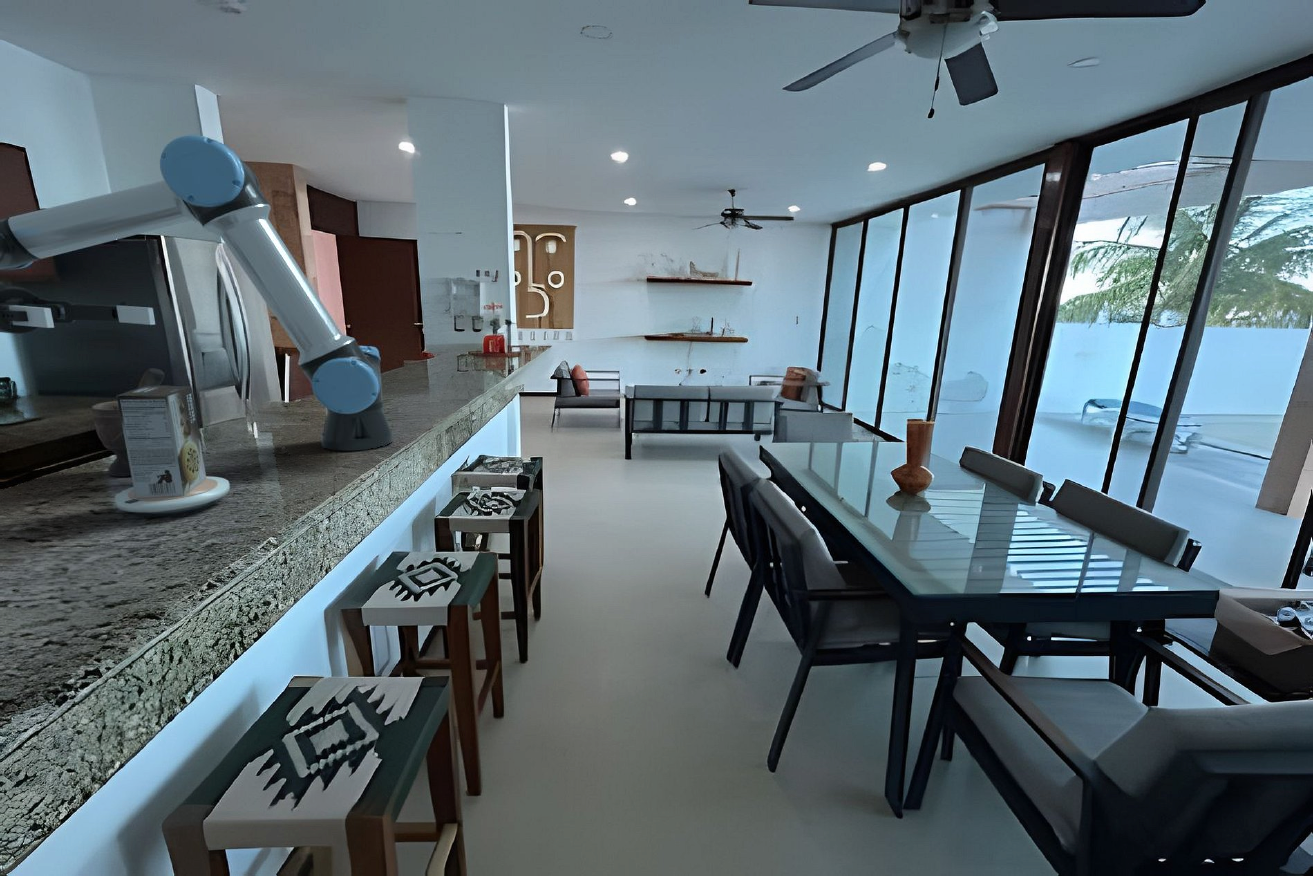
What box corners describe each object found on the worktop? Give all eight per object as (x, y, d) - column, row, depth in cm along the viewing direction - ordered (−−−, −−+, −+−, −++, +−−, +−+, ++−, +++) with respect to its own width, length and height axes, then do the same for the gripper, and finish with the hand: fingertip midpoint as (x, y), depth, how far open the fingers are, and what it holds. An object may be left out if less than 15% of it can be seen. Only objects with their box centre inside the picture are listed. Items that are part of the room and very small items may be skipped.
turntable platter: (185, 479, 98) (184, 471, 98) (250, 488, 95) (249, 480, 95) (91, 505, 85) (89, 497, 84) (164, 517, 82) (162, 508, 82)
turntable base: (184, 493, 96) (183, 485, 96) (231, 500, 94) (230, 491, 94) (118, 513, 87) (116, 504, 86) (169, 521, 85) (168, 512, 84)
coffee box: (160, 481, 92) (144, 385, 89) (207, 478, 95) (193, 384, 91) (132, 499, 84) (113, 394, 80) (185, 496, 86) (168, 393, 83)
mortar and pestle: (191, 462, 113) (176, 364, 108) (176, 475, 105) (158, 369, 100) (117, 467, 108) (97, 364, 103) (95, 480, 100) (73, 370, 96)
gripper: (94, 329, 102) (189, 337, 98) (-112, 336, 78) (2, 347, 74) (87, 287, 100) (183, 293, 96) (-127, 281, 77) (-12, 289, 73)
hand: (104, 317), depth 85 cm, fingers open, 13 cm apart
